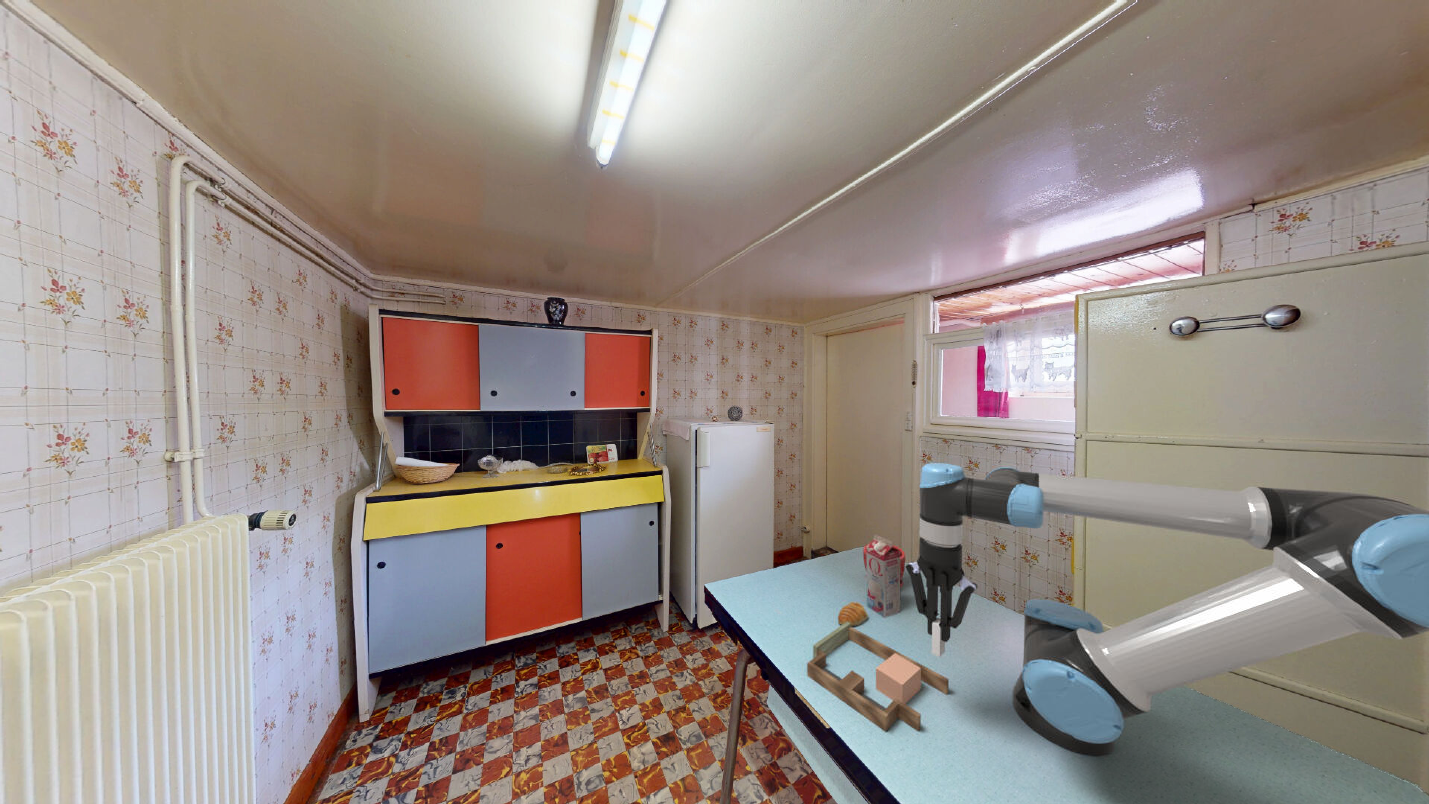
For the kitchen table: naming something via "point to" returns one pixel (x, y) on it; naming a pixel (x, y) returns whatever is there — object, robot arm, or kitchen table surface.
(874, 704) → the mats
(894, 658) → the block
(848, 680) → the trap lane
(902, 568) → the plant pot
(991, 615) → the kitchen table surface
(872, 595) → the juice carton
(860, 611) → the pastry
